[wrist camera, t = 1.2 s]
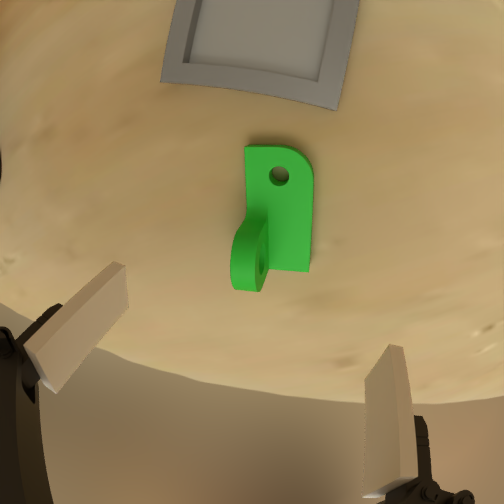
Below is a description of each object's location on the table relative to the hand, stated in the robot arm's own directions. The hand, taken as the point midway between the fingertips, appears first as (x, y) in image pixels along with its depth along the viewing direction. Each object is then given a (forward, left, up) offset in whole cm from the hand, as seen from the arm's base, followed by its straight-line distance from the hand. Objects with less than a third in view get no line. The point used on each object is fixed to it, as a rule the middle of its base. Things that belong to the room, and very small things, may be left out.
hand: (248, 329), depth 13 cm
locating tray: (-6, +20, -17) cm, 27 cm away
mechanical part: (-1, 0, -18) cm, 18 cm away
